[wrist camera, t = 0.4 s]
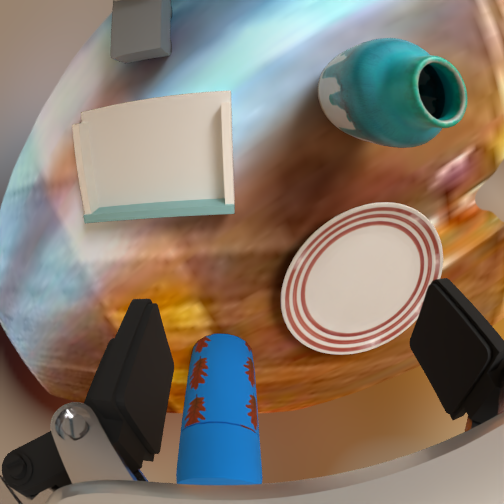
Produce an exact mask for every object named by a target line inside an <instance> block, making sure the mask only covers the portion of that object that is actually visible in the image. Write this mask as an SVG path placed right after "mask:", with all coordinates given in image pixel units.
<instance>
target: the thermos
mask: <svg viewBox="0 0 504 504" xmlns="http://www.w3.org/2000/svg"><path fill="white" fill-rule="evenodd" d="M176 476H177V484H188V485H252V484H262V467H261V454H260V441H259V425H258V411H257V397H256V383H255V370H254V363H253V356H252V351H251V348H250V346H249V345H248V344H247V343H246V342H245V341H244V340H242V339H240V338H239V337H237V336H233V335H229V334H213V335H209V336H205V337H204V338H202V339H200V340H199V341H198V342H197V343H196V345H195V346H194V348H193V352H192V356H191V361H190V366H189V373H188V380H187V388H186V395H185V402H184V410H183V418H182V427H181V435H180V443H179V453H178V462H177V474H176Z"/></svg>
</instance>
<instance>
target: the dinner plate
mask: <svg viewBox="0 0 504 504" xmlns="http://www.w3.org/2000/svg"><path fill="white" fill-rule="evenodd" d="M442 267H443V251H442V245H441V241H440V238H439V235H438V233H437V231H436V229H435V227H434V226H433V224H432V223H431V222H430V221H429V220H428V219H427V218H426V217H425V216H424V215H423V214H422V213H420V212H419V211H417V210H415V209H413V208H411V207H409V206H406V205H403V204H399V203H391V202H379V203H371V204H366V205H362V206H359V207H356V208H353V209H350V210H348V211H346V212H344V213H341V214H339V215H338V216H336V217H334V218H333V219H331V220H329V221H328V222H326V223H325V224H324V225H323V226H321V227H320V228H319V229H318V230H317V231H315V232H314V233H313V234H312V235H311V236H310V237H309V238H308V239H307V240H306V241H305V243H304V244H303V245H302V246H301V248H300V249H299V250H298V252H297V253H296V255H295V256H294V258H293V260H292V262H291V263H290V265H289V267H288V270H287V272H286V275H285V277H284V281H283V284H282V289H281V310H282V315H283V318H284V321H285V323H286V325H287V327H288V329H289V331H290V332H291V333H292V335H293V336H294V337H295V338H296V339H297V340H298V341H300V342H301V343H302V344H304V345H305V346H307V347H309V348H311V349H313V350H316V351H319V352H323V353H328V354H340V355H341V354H354V353H359V352H364V351H367V350H370V349H373V348H376V347H378V346H381V345H383V344H385V343H387V342H389V341H390V340H392V339H394V338H395V337H397V336H398V335H400V334H401V333H402V332H404V331H405V330H406V329H407V328H408V327H410V326H411V325H412V324H413V323H414V322H415V321H416V320H417V319H418V316H419V313H420V310H421V307H422V304H423V301H424V298H425V295H426V291H427V288H428V286H429V285H430V284H431V282H432V281H433V280H436V279H440V278H441V273H442Z"/></svg>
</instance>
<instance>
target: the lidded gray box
mask: <svg viewBox="0 0 504 504" xmlns="http://www.w3.org/2000/svg"><path fill="white" fill-rule="evenodd" d="M170 18H172V8H171V0H113V12H112V29H111V58H112V59H115V60H118V61H121V62H123V63H130V62H135V61H140V60H145V59H151V58H157V57H163V56H170V54H171V51H172V44H171V40H170Z"/></svg>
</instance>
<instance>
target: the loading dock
mask: <svg viewBox="0 0 504 504" xmlns="http://www.w3.org/2000/svg"><path fill="white" fill-rule="evenodd" d="M81 121H82V123H78V124H74V125H72V130H73V140H74V149H75V158H76V165H77V172H78V179H79V185H80V191H81V196H82V202H83V207H84V212H85V215H84V216H83V217H84V222H85V223H95V222H106V221H119V220H132V219H146V218H161V217H178V216H196V215H217V214H234V210H235V196H234V170H233V141H232V108H231V91H215V92H201V93H190V94H180V95H172V96H164V97H156V98H150V99H143V100H137V101H131V102H126V103H121V104H116V105H111V106H106V107H101V108H97V109H93V110H88V111H84V112H81Z"/></svg>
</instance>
